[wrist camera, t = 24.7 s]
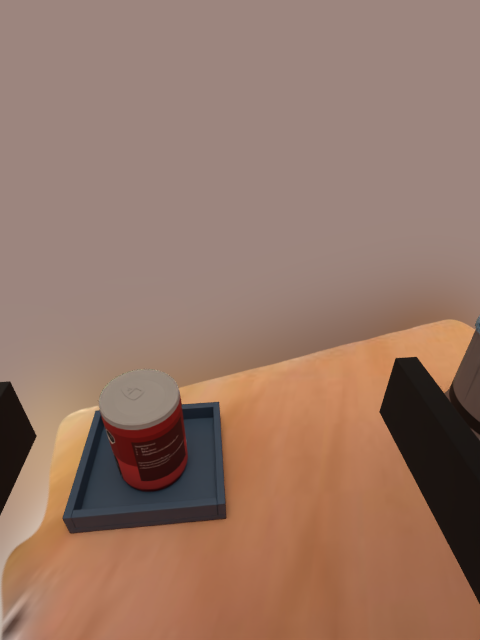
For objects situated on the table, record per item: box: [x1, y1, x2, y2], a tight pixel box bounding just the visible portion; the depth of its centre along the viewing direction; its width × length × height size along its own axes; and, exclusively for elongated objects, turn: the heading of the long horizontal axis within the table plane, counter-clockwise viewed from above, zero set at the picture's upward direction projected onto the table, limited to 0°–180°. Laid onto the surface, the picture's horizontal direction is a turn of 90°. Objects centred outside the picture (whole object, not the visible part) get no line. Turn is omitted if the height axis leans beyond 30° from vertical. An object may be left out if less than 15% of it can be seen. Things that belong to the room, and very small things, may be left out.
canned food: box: [99, 369, 188, 492], centre depth 39 cm, size 8×8×11 cm
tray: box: [63, 402, 226, 533], centre depth 42 cm, size 16×14×3 cm
